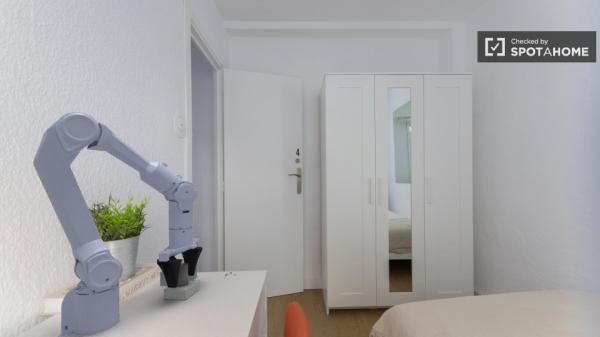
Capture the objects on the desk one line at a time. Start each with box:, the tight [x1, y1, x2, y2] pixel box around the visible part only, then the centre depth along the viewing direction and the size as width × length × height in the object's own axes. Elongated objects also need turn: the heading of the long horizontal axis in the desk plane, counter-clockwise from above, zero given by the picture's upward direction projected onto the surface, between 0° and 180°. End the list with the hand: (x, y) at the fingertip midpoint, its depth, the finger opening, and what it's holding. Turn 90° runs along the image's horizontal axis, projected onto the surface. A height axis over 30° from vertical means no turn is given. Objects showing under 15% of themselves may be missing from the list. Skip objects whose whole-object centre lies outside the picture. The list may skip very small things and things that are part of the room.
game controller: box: [223, 271, 236, 279], centre depth 80 cm, size 6×12×3 cm, turn 100°
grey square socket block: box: [159, 265, 198, 287], centre depth 77 cm, size 7×7×5 cm
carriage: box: [163, 263, 200, 301], centre depth 68 cm, size 6×6×7 cm
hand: (181, 281), depth 68 cm, fingers open, 7 cm apart
